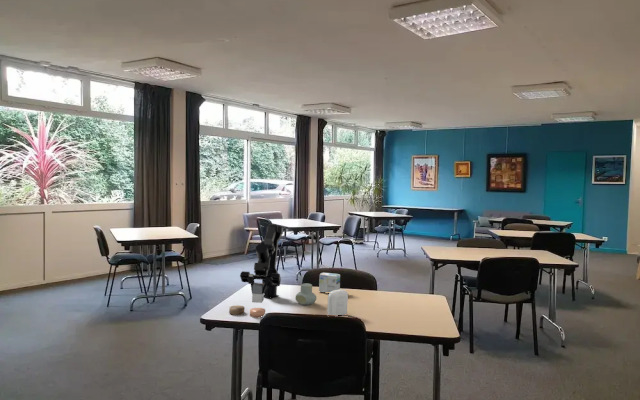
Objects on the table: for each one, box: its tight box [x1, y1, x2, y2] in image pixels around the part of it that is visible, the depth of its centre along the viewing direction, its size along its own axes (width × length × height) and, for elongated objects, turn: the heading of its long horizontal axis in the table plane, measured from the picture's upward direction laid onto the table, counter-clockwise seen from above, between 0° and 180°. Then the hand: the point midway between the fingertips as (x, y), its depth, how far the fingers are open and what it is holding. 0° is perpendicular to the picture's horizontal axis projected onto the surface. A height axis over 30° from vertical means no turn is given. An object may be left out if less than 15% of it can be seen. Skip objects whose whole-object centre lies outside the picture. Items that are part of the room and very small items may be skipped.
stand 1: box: [228, 304, 246, 316], centre depth 205 cm, size 7×7×2 cm
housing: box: [251, 282, 265, 304], centre depth 203 cm, size 4×4×8 cm
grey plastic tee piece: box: [295, 283, 317, 306], centre depth 225 cm, size 11×8×10 cm
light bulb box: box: [318, 272, 341, 292], centre depth 249 cm, size 11×7×11 cm, turn 69°
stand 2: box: [249, 307, 266, 319], centre depth 203 cm, size 7×7×2 cm
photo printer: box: [326, 288, 349, 316], centre depth 208 cm, size 10×4×12 cm, turn 123°
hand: (257, 293), depth 201 cm, fingers closed on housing, 4 cm apart
